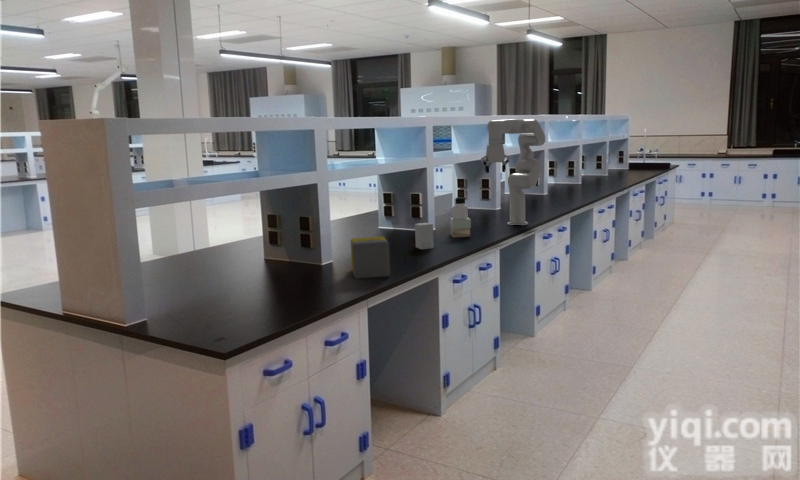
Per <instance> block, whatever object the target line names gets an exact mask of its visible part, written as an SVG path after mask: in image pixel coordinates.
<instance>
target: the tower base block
mask: <svg viewBox="0 0 800 480" xmlns="http://www.w3.org/2000/svg"><path fill="white" fill-rule="evenodd" d="M450 235H451V237H452V238H465V237H467V238H469V237H471V228H462V229H453V228H452V227H451V226H450Z"/></svg>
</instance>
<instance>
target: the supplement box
mask: <svg viewBox="0 0 800 480" xmlns="http://www.w3.org/2000/svg"><path fill="white" fill-rule="evenodd" d="M414 233H415V234H414V236H415V238H414V240H415V248H416V249H418V250H419V249H420V250H428V249H429V250H430V249H434V248H435V247H434V246H435V245H434V241H435V240H434V224H433V223H429V222H420V223H415V224H414Z"/></svg>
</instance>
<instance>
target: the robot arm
mask: <svg viewBox="0 0 800 480" xmlns="http://www.w3.org/2000/svg"><path fill="white" fill-rule="evenodd" d="M487 131H488V144H487V145H486V152H485V156H483V157H481V158H480V161H481V162H482V164H483V165H484V169H485V170H484V171H485V173H486V174H489V173H490V166H489V164H491V163H502V165H501V172H503V173H506V169H507V166H506V165H507V164H508V163H509V162H510V159H511V156H508V155H506V153H505V149H504V144H503V143H505V140H504V139H503V134H506V135H507V134H509V135H516V134H519V135H518V137H517V138H518V139H517V142H518V146H519V150H520V151H519V152H520V153H519V156H518V158H517V161H516V164H515V167H514V168H515V169H514V170H515V173H511V174H510V175H508V177H507V185H508V193H509V221H508V222H506V223H507V225H508V226H513V225H521V226H526V225H528V224H529V222H528V221H526V195H525V192H524V190H533V189H534V188H535V187H536V186H537V182H538V180H539V177H540V175H541V172H542V162H541V161H540V160H539V159H536V158H534V155H535V153H534V152H533V150H532V149H531V147H540V146H541V147H542V146H543V145H544V144H545V143H546V135H545V133H544V130H543V128H542V126H541V124H540V123H539V122H538V120H537V119H535V118H530V119H529V118H527V119H526V118H525V119H518V118H513V119H511V118H510V119H494V120H493V119H491V120H489V121H488V122H487Z"/></svg>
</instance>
